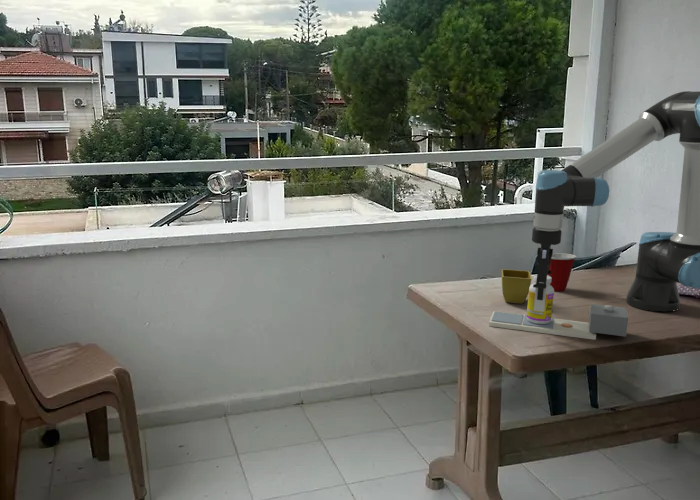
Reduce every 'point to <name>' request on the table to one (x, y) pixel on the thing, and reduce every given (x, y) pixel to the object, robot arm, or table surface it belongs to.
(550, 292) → the supplement bottle
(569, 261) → the plastic cup
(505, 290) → the flower pot
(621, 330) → the cover
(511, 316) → the board
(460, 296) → the table surface
